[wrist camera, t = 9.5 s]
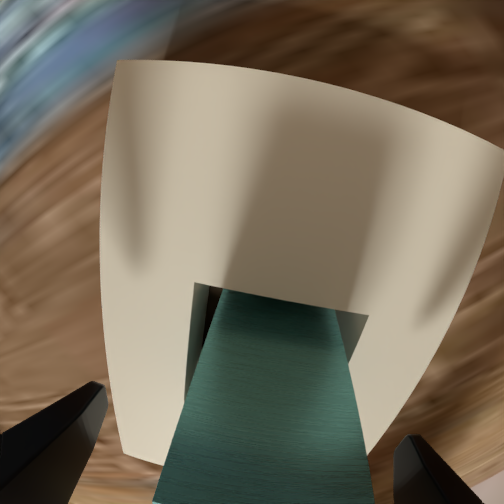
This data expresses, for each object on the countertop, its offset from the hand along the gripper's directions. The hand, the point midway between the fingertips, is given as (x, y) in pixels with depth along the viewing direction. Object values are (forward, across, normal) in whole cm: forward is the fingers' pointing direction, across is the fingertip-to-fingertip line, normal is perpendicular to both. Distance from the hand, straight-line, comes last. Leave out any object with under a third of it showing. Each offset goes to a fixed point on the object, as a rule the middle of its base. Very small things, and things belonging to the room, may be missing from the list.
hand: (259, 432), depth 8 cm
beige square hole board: (+6, 0, 0) cm, 6 cm away
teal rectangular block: (+6, 0, 0) cm, 7 cm away
